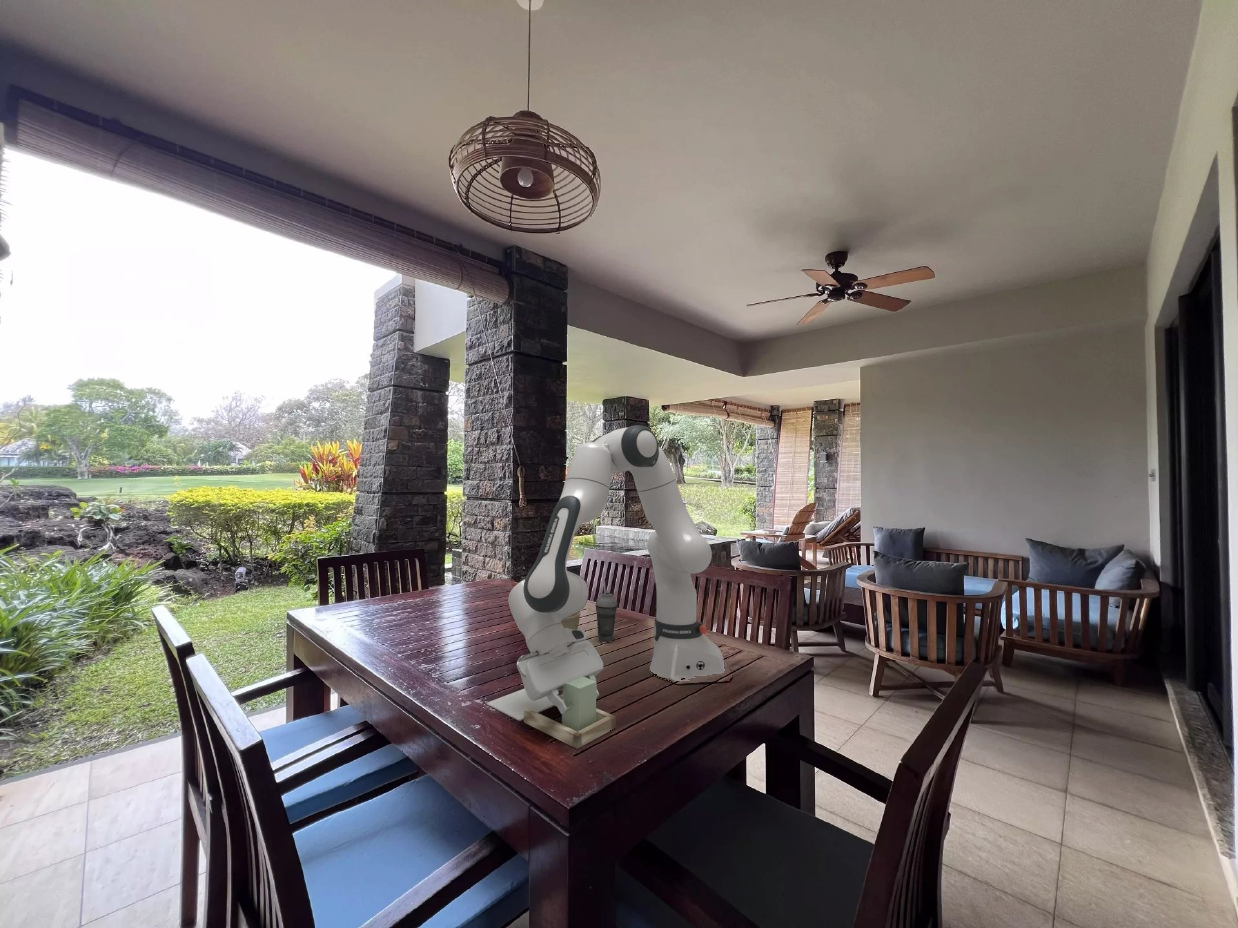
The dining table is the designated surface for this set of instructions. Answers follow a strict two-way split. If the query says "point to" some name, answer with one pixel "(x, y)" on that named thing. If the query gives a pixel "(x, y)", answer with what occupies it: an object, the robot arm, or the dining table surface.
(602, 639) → the beverage cup
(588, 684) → the block
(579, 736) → the lane
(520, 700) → the mat
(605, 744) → the dining table surface
